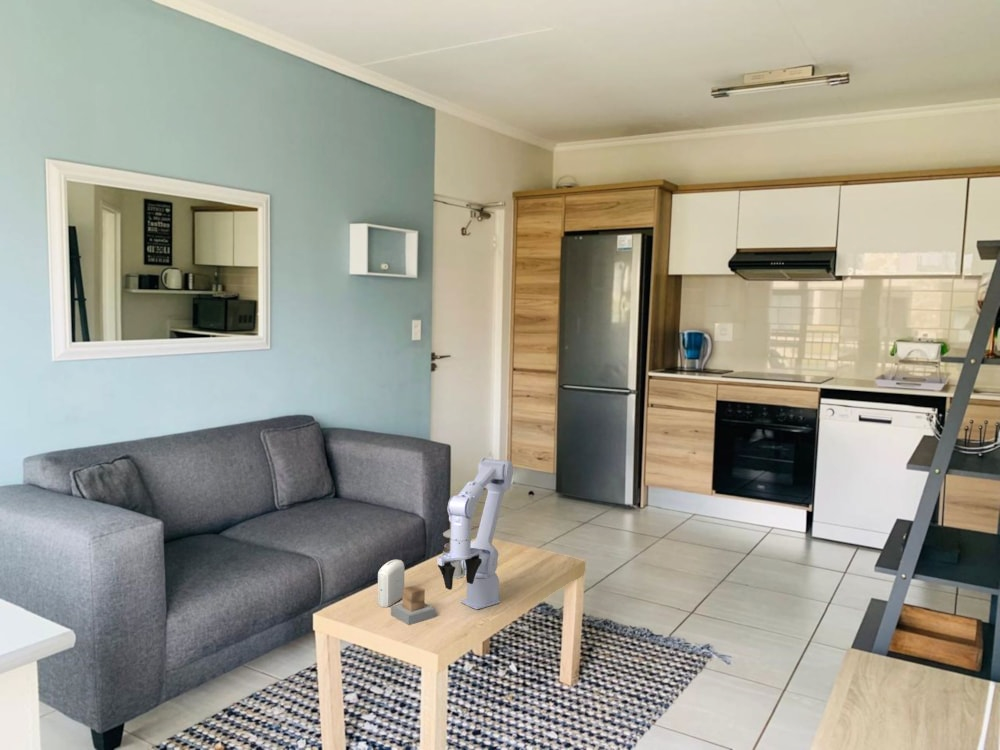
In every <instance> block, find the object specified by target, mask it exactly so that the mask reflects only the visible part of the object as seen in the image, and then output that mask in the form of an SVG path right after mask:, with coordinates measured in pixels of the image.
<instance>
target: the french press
mask: <svg viewBox="0 0 1000 750" xmlns="http://www.w3.org/2000/svg"><path fill="white" fill-rule="evenodd" d="M442 535H443V537H445V538H447V539H451V528H449V529H447V530H445V531H444V532H443V533H442ZM443 547H444V548H443V549H442V556H444V555H446V554H448V553H449V551H450V542H446V543H445V544H444V545H443ZM451 564H452V566H454V567H455V571H454V574H453V578H459V577H464V576H465V575H466V574H465V571H463V569H462V567H461V561H457V562H453V563H451ZM441 575H442V573H441Z"/></svg>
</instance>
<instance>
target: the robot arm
mask: <svg viewBox="0 0 1000 750" xmlns="http://www.w3.org/2000/svg"><path fill="white" fill-rule="evenodd" d="M513 476H514V466H513V462H512V461H511V460H502V459H493V458H485V457H483V458H481V460H480V461H479V462H478V466H477V474H476V476H475V477H474V479H473V480H470V481H468V482H466V484H465V485H464V487H463V488H462V489H461V490H460V491H459V493H458V494H457V495H453V496H451V497H450V498H449V500H448V503H447V510H446V511H447V514H448V521H449V523H450V529H451V538H450V542H449V543H450V551H449V553H448V554H446V555H444V556H443V555H442V556H438V557H437V568H439V570H440V572H441V573H442V575H443V577H442V578H443V581H444V582H443V583H444V585H445V589H447V590H449V591H451V590H453V584H454V583H453V582H454V579H453V574H454V571H455V567H454V566H452V564H451V563H453V562H457V561H461V567H462V569H463V571H465V574H466V577H465V578H466V598H463V599H461V600H459V601H460V603H462V604H464V605H466V606H468V607H470V608H473V609H474V610H480V609H484V608H487V607H490V606H493V605H496V604H500V603H501V600H500V599H499V595H500V593H499V591H500V590H499V589H500V579H499V576H498V575H497V573H496V572H497V569H498V564H499V563H498V558H499V552H498V549H497V548H496V547H495V546H494V545H493V541H494V540H493V539H494V535H495V533H496V532H495V530H496V527H497V524H498V519H499V515H500V510H501V507H502V503H503V499H504V495H505V492H506V491H508V490H510V487H511V484H512V480H513ZM484 488H485V489H486V490H487V494H486V497H485V498H486V499H485V503H484V507H483V510H482V514H481V519H480V523H479V526H478V529H477V533H476V539H475V540H473V541H472V518H473V517H474V515H475V513H476V512H475V511H476V509H477V505H478V502H479V501H480V500H481V498H482V496H483V495H484V492H485V491H484Z"/></svg>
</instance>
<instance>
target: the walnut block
mask: <svg viewBox="0 0 1000 750" xmlns="http://www.w3.org/2000/svg"><path fill="white" fill-rule="evenodd" d="M425 593H426V589H424V588H423V587H421V586H419V585H417V584H415V585H410V586H406V587H404V588H403V598H402V603H403V605H402V607H403V608H405V609H407V610H409V611H410V612H413V611H416V610H420V609H423V608H424V605H425V604H426V603H425V598H426V597H425V595H426V594H425Z"/></svg>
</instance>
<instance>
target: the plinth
mask: <svg viewBox="0 0 1000 750" xmlns="http://www.w3.org/2000/svg"><path fill="white" fill-rule="evenodd" d="M402 605H403V602H402V603H398V604H395V605H394V604H393V605H391V606H390V615H391V616H393V618H396V619H397V620H399V621H401V622H402V621H403V622H402V623H404V624H406V625H408V626H410V625H414V624H418V623H420V622H424V621H426V620H430V619H434V618H435V617H436V608H435V607H432V606H430V605H429V604H427V603H425V605H424V608H423V609H420V610H416V611H413V612H410V611H409V610H407V609H405V608H403V607H402Z"/></svg>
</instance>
